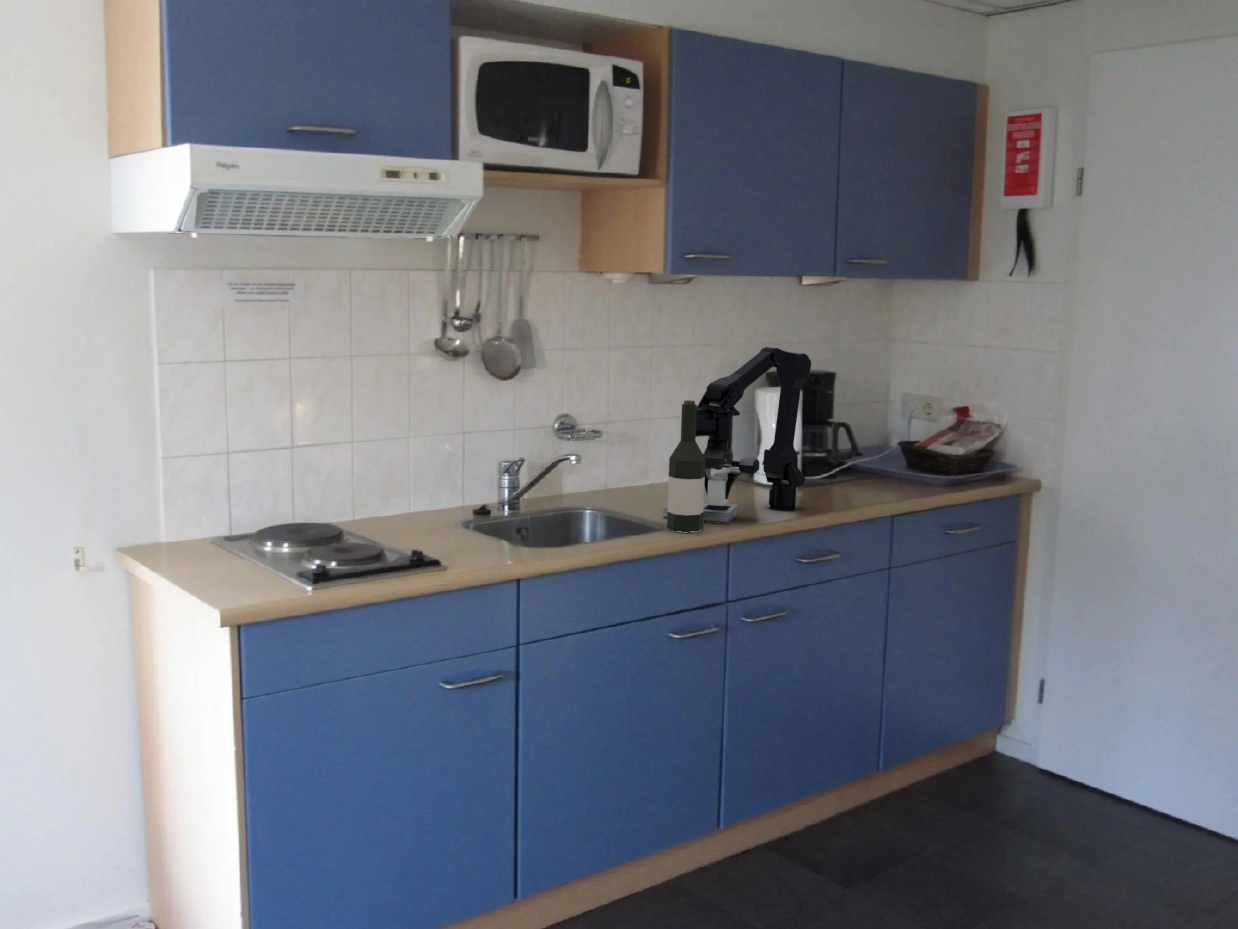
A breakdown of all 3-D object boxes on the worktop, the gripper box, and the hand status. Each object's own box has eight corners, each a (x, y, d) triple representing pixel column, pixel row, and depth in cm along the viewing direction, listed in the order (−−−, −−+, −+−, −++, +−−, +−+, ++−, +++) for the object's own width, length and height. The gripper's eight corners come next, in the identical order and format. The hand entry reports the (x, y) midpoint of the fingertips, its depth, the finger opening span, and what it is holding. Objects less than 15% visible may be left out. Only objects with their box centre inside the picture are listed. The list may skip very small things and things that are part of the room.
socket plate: (737, 515, 300) (738, 502, 300) (727, 524, 290) (728, 510, 289) (675, 509, 305) (675, 497, 304) (663, 518, 295) (663, 505, 294)
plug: (728, 502, 297) (729, 476, 296) (723, 505, 293) (724, 480, 292) (712, 500, 299) (713, 475, 298) (707, 504, 294) (708, 478, 293)
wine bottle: (687, 534, 277) (692, 403, 272) (659, 528, 282) (663, 400, 278) (710, 529, 283) (715, 401, 278) (682, 523, 289) (687, 397, 284)
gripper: (674, 436, 288) (672, 501, 291) (751, 441, 283) (749, 507, 285) (686, 430, 299) (683, 493, 301) (761, 435, 293) (758, 499, 296)
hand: (717, 498), depth 295 cm, fingers closed on plug, 4 cm apart
